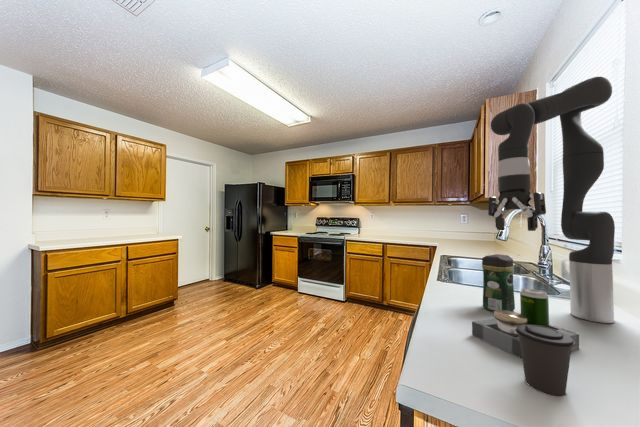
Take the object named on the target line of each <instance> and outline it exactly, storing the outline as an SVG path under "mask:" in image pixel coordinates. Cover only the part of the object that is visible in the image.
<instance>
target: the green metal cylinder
mask: <svg viewBox="0 0 640 427" xmlns="http://www.w3.org/2000/svg"><path fill="white" fill-rule="evenodd" d="M519 301H520V314H523V315H525V316H526V317H527V324H526V325H540V326H545V327H549V324H550V314H549V313H550V310H549V303H550V302H549V296H548V293H547V292H546V291H543V290H539V289H533V288H522V289H521V292H520V300H519Z"/></svg>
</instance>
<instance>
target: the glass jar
mask: <svg viewBox="0 0 640 427" xmlns="http://www.w3.org/2000/svg"><path fill="white" fill-rule="evenodd" d="M493 318H495V319H497V323H498V331H501V332H503V333H505V334H508V335H510V336H513V337H515V338H516V337H519V335H518V333H517V332H516V331H515V329H516V328H517V326H519V325H526V324H527V317H526V316H525V315H523V314H521V312H515V311H506V310H496V311H494V312H493Z"/></svg>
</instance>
